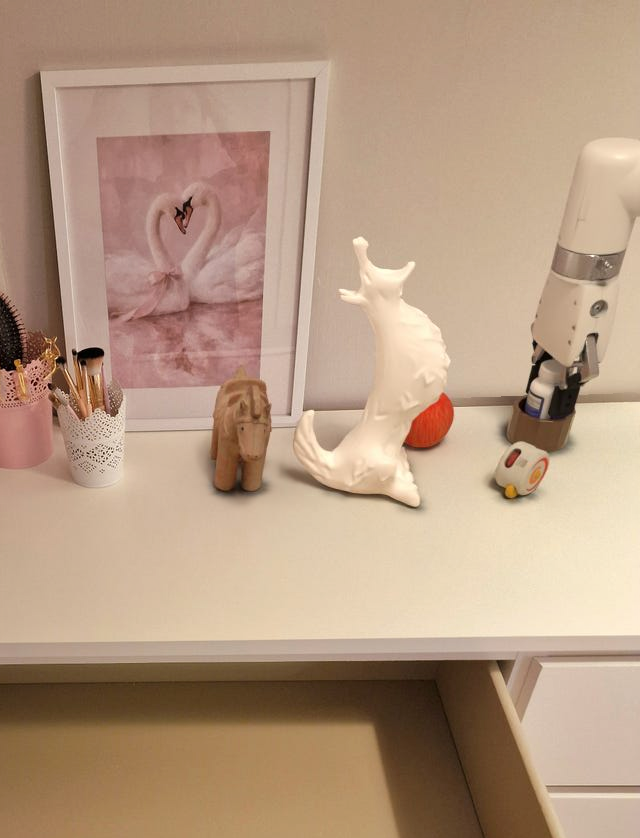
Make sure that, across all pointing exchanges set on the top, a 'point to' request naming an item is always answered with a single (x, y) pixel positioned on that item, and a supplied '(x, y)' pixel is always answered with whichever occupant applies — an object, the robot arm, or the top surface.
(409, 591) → the top surface
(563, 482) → the top surface
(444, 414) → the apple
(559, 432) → the holder
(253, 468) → the figurine
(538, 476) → the roller toy
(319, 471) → the sculpture
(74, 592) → the top surface
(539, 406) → the pill bottle
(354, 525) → the top surface
